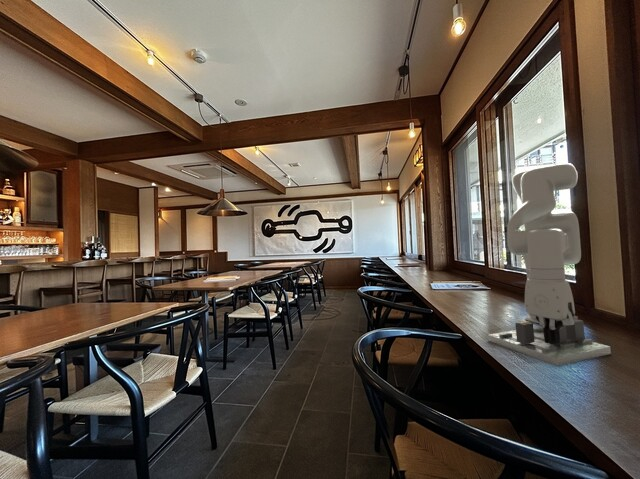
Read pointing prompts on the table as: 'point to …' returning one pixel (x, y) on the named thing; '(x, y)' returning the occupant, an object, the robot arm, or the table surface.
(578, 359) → the panel
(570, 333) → the handle near
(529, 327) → the orange striped slider handle
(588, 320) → the table surface
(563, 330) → the handle middle
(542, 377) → the table surface
